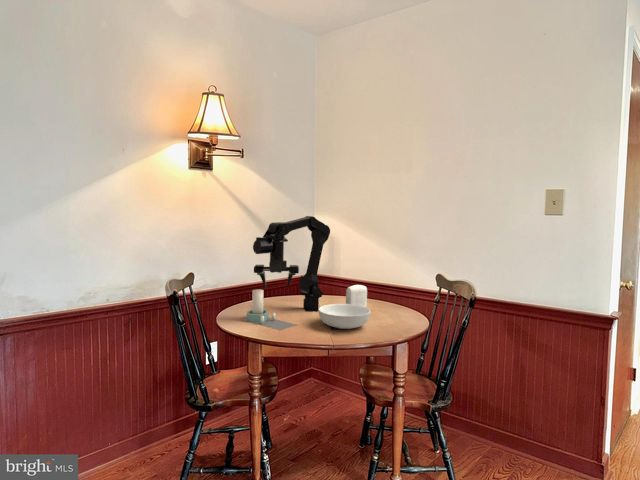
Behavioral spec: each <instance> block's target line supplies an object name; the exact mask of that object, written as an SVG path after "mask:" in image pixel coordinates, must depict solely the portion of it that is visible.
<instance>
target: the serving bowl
mask: <svg viewBox="0 0 640 480" xmlns="http://www.w3.org/2000/svg"><path fill="white" fill-rule="evenodd" d="M317 312H318V316H319V318H320V320H321V321H322V322H323V323H324V324H325V325H327V326H329V327H332V328H336V329H340V330H351V329H354V328H355V329H356V328H359V327H362V326H363V325H365V324H366V323H368V321H369V319H370V317H371V310H370V308H368V307H367V306H366V307H363V306H358V305H351V304H346V303H332V304H331V303H330V304H325V305H321V306H320V307H319V309H318V311H317Z"/></svg>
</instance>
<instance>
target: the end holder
mask: <svg viewBox="0 0 640 480" xmlns="http://www.w3.org/2000/svg"><path fill="white" fill-rule="evenodd" d="M261 316H264V321H267V320H268V317H269V311H268V310H265V309H263V314H252V309H250V310H248V311H246V317H247V320H248V321H250V322H249V323H251V322H261Z"/></svg>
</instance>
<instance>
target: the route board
mask: <svg viewBox="0 0 640 480" xmlns="http://www.w3.org/2000/svg"><path fill="white" fill-rule="evenodd" d="M239 320H240V321H244V322H247V323H252V324H255V325H259V326H262V327H265V328H271V329H273V330H277V331H284V330H286V329H289V328H292V327H296V326H297V323H296V324H295V323H292V322H287V321H285V320H280V319H278V318H277V319H276V312H271V317H269V316H268V320H267V321H264V316H261V322H250V321H248V320H247V316H246V317H242V318H240V319H239Z"/></svg>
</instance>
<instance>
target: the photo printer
mask: <svg viewBox="0 0 640 480" xmlns="http://www.w3.org/2000/svg"><path fill="white" fill-rule="evenodd" d="M367 298H368V288H367V286H365V285H362V284H354V285H351V286H348V287H347V288H346V290H345V304H351V305H358V306H363V307H366V308H367V307H368V306H367V303H368V299H367Z"/></svg>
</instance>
